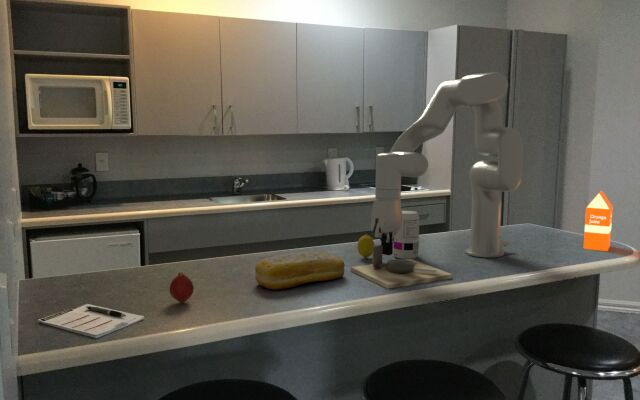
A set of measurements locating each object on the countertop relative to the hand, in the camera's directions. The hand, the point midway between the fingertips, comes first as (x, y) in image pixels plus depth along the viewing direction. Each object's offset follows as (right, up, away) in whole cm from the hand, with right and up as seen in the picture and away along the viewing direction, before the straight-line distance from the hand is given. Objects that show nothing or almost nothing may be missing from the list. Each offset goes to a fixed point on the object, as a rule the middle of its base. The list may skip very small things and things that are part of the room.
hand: (386, 254), depth 169 cm
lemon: (-5, -3, +14) cm, 15 cm away
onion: (-55, -9, -30) cm, 63 cm away
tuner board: (+3, -5, -5) cm, 8 cm away
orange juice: (+78, -1, +28) cm, 83 cm away
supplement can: (+8, -3, +16) cm, 18 cm away
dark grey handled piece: (+4, -4, -6) cm, 8 cm away
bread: (-26, -7, -11) cm, 29 cm away
